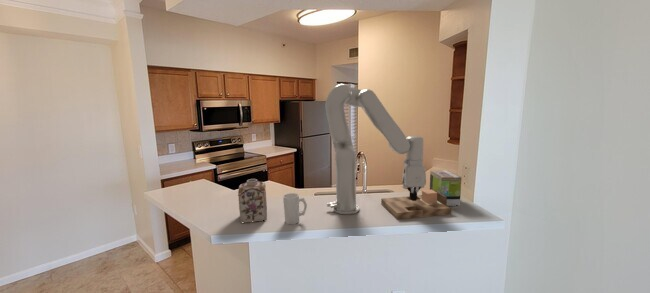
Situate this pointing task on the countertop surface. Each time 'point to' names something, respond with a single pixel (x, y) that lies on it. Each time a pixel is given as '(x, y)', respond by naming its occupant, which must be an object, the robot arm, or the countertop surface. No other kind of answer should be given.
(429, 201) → the block
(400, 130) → the robot arm
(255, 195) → the decorative jar
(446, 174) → the tea box
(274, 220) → the countertop surface
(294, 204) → the mug
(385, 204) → the board
